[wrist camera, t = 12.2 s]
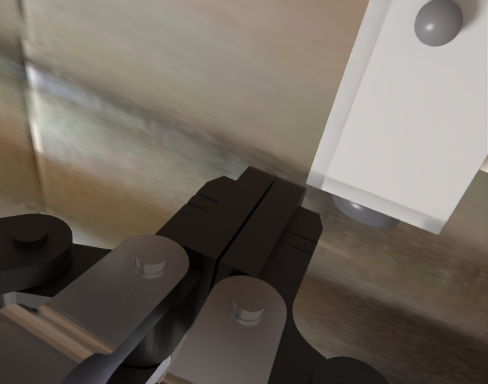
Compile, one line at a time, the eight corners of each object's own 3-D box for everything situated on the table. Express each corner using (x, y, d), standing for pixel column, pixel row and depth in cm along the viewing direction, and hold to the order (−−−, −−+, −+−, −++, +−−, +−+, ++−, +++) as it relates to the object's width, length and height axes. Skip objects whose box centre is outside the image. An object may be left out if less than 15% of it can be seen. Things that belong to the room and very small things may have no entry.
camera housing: (401, -55, 31) (387, -58, 22) (544, -19, 29) (593, -6, 20) (324, 158, 41) (292, 216, 32) (425, 196, 39) (423, 269, 30)
